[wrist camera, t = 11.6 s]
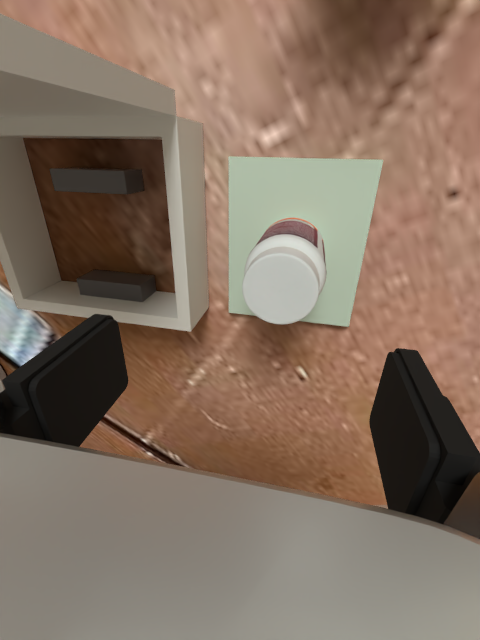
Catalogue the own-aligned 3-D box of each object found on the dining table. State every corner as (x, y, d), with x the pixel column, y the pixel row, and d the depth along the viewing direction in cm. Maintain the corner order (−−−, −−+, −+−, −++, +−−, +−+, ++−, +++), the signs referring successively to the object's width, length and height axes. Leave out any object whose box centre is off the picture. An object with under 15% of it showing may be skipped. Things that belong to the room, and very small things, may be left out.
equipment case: (209, 307, 28) (60, 508, 12) (55, 289, 31) (-225, 431, 15) (201, 101, 21) (-187, -68, 5) (2, 104, 24) (-636, 5, 8)
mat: (348, 323, 26) (348, 326, 25) (230, 309, 28) (228, 312, 27) (381, 159, 20) (383, 159, 20) (230, 156, 22) (228, 156, 21)
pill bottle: (247, 241, 24) (216, 278, 17) (301, 202, 22) (292, 225, 14) (282, 290, 25) (267, 345, 18) (337, 257, 23) (345, 304, 16)
